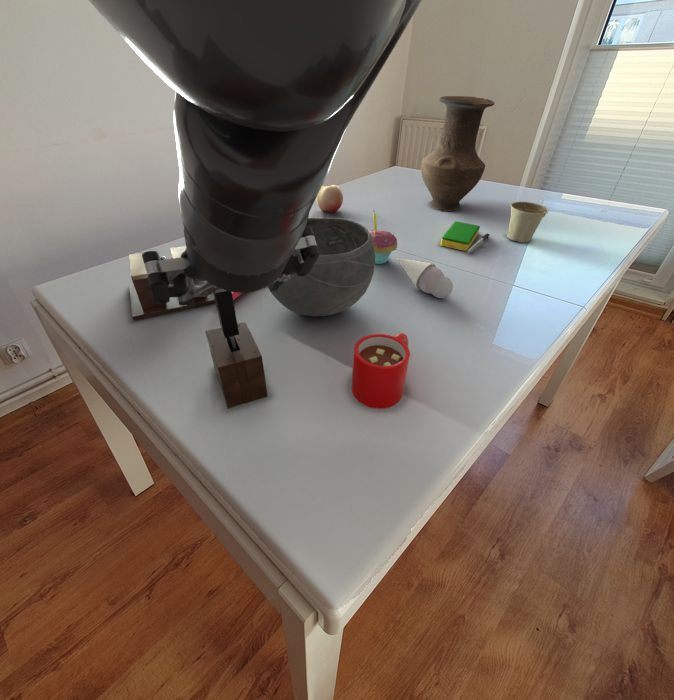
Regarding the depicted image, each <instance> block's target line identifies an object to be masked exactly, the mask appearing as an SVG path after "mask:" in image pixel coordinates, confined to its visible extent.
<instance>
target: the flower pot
mask: <svg viewBox="0 0 674 700" xmlns="http://www.w3.org/2000/svg"><path fill="white" fill-rule="evenodd" d="M549 210H550V209H549V208H548V207H547V206H545V205H542V204H541V203H540V204H539V203H535V202H530V201H515V202H512V203H510V219H509V225H508V230H507V236H506V237H507V239H508V240H511V241H513V242H514V241H516V242H518V243H529V242H530V241H531V240H532V239H533V236H534V235H535V234H536V231H537V229H538V227H539V225H540V223H541V222H542V220H543V218H545V216H546V215H547V214H548V213H549Z"/></svg>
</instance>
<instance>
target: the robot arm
mask: <svg viewBox="0 0 674 700" xmlns="http://www.w3.org/2000/svg"><path fill="white" fill-rule="evenodd" d="M88 1H89V3H90V4H91V5H92V6H93V7H94V8H95V10H96V11H98V13H99V14H100V15H101V16H102V17H103V18H104V19H105V20H106V22H107V23H108V24H109V25H110V26H111V27H112V28H113V29H114V30H115V32H116V33H117V34H118V35H119V36H120V37H121V38H122V39H123V40H124V41H125V42H126V44H127V45H128V46H129V47H130V48H131V49H132V50H133V51H134V53H136V55H137V56H138V57H140V58H139V59H141V60H142V61H143V62H144V63H145V64H146V65H147V66H148V67H149V68H150V69H151V70H152V71H153V72H154V73H155V74H156V75H157V76H158V77H159V78H160V79H161V80H162V81H163V82H164V83H166V85H168V86H169V87H170V88H171V89H173V90H174V91H175V96H174V106H173V127H174V135H175V137H174V138H175V143H176V151H177V161H178V167H179V180H178V181H179V182H178V202H179V208H180V209H179V210H180V216H181V217H180V218H181V224H182V231H183V236H184V243H185V246H186V249H185V250H184V251H183V252H182V254H181V257H180V258H173V259H172V258H167V257H166V256H161V255H160V252H159V251H157V250H147V251H144V252H145V253H143V254H142V258H143V262H144V265H145V269H146V273H147V276H148V280H149V284H150V287H151V291H152V295H153V298H154V302H155V304H165V303H167V302H169V301H170V299H169V298H170V297H176V298H177V301H178V302H179V305H181V306H183V305H187V306H188V309H189V310H191V309H190V308H193V309H196V308H195V302H194V297H206V296H208V295H210V294H212V293H213V292H215V291H217V290H219V289H223V290H227V291H231V292H237V293H242V294H244V293H245V294H246V293H252V292H258V291H261V290H262V289H265V288H268V287H269V288H268V290H269V292H270V293H271V292H272V291H276V290H277V289H278V288H279V286H281V285H282V284H283V283H284V282H286V281H288V280H289V279H291V277H290V275H291V274H293V273H297V275H298V276H306V275H307V274H308V273H309V272H310V271H311V269H312V267H313V266H314V264H315V262H316V260H317V259H318V257H319V255H320V254H319V250H318V247H317V244H316V240H315V237H314V234H313V230H312V228H311V227H306V224H307V221H308V218H310V217H309V215H310V211H311V209H312V207H313V205H314V203H315V201H316V197H317V195H318V193H319V191H320V189H321V187H322V186H324V184H325V181H326V179H327V177H328V174H329V171H330V168H331V166H332V163H333V160H334V158H335V155H336V153H337V150H338V149H339V146H340V143H341V141H342V139H343V137H344V134H345V132H346V130H347V128H348V126H349V125H350V122H351V120H352V119H353V117H354V116H355V114H356V112H357V110H358V109H359V107H360V105H361V104H362V103H363V101H364V99H365V98H366V96H367V94H368V92H369V91H370V90H371V87H372V86H373V84H374V82H375V81H376V79H377V78H378V76H379V74H380V73H381V71H382V69H383V67H384V66H385V64H386V63H387V60H388V59H389V57H390V55H392V52H393V51H394V49H395V47H396V46H397V44H398V42H399V40H400V39H401V38H402V35H403V34H404V32H405V30H406V28H407V27H408V25H409V23H410V21H411V20H412V18H413V16H414V14H415V13H416V12H417V10H418V7H419V6H420V4H421V2H422V1H423V0H88ZM291 255H292V256H291ZM205 282H207V283H206V284H205Z"/></svg>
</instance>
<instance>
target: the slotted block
mask: <svg viewBox="0 0 674 700" xmlns="http://www.w3.org/2000/svg"><path fill="white" fill-rule="evenodd" d="M185 249H186V245H182V246H175V247H169V251H170V255H171V259H173V258H180V257H181V254H182V252H183V251H184V250H185ZM145 252H146V251H142V252H136V253H129V254H128V262H129V264H128V265H129V272H130V278H131V281H132V284H129V285H128V288H129V298H130V309H131V310H130V311H131V318H132V321H133V322H136V321H141V320H145V319H150V318H156V317H159V316H164V315H169V314H173V313H179V312H183V311H189V310H193V309H198V308H203V307H208V306H211V305H216V302H215V298H214V293H212V294H210V295H208V296H206V297H194V302H195V308H190V309H188V306H187V305H183V306H181V305H179V302H178V301H177V298H176V297H170V298H169V299H170V301H169V302H167V303H165V304H155V302H154V298H153V295H152V291H151V287H150V284H149V280H148V276H147V273H146V269H145V265H144V262H143V258H142V254H143V253H145ZM206 283H207V282H205V284H206Z"/></svg>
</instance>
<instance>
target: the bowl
mask: <svg viewBox="0 0 674 700" xmlns="http://www.w3.org/2000/svg"><path fill="white" fill-rule="evenodd" d="M306 227H311V228H312V230H313V234H314V237H315V240H316V244H317V247H318V250H319V254H320V255H319V257H318V259H317V260H316V262H315V264H314V266H313V267H312V269H311V271H310V272H309V273H308V274H307V275H306V276H298V275H297V273H293V274H291V275H290V277H291V279H289V280H288V281H286V282H284V283H283V284H282V285H281V286H279V288H278V289H277V290H276V291H272V292H270V293H271V294H272V296H273V297H274V298H275V299H276V300H277V301H278V303H280V304H281V305H282V306H284V308H286V309H287V310H289V311H291V312H293V313H296V314H298V315H302V316H307V317H327V316H332V315H335V314H339V313H341V312H344V311H346V310H348V309H350V308H351V307H352V306H354V305H355V304H356V303H357V302H358V301H359V300H361V298H362V297H363V296H364V295H365V293H366V292H367V290H368V288H370V287H369V286H370V284H371V283H372V280H373V276H374V272H375V269H376V268H375V267H376V264H375V250H374V247H373V246H374V245H373V241H372V237H371V235H370V233H369V232H370V231H369V229H368V228H367V227H366V226H364V225H363V224H360V223H359V222H355V220H350V219H346V218H337V217H308V221H307V224H306ZM291 256H292V255H291ZM267 288H268V289H269V287H268V286H267Z"/></svg>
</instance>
